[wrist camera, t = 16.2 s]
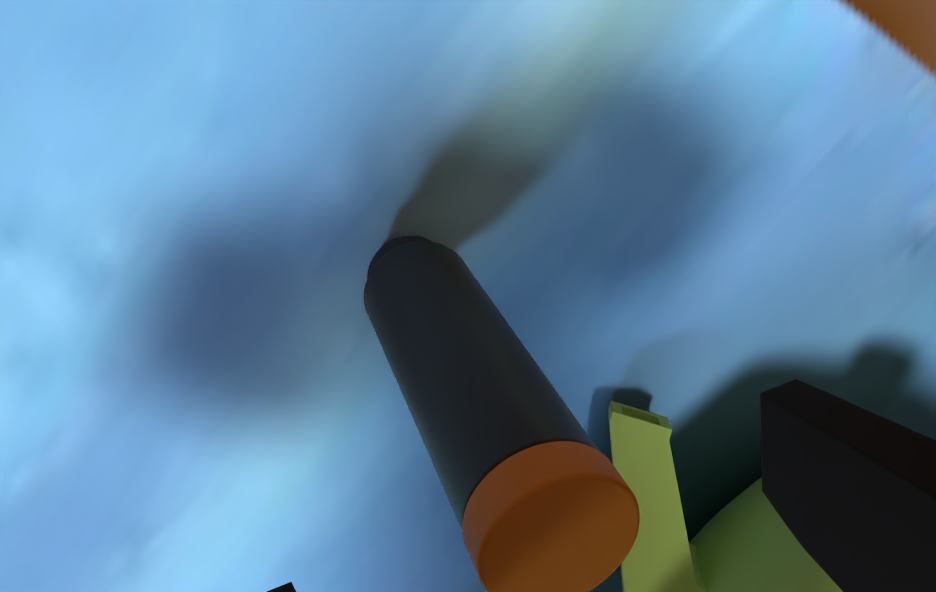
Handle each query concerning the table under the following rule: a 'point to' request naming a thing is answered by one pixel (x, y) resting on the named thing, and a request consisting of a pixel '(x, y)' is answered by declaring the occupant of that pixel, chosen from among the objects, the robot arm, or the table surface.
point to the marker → (496, 429)
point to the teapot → (718, 543)
